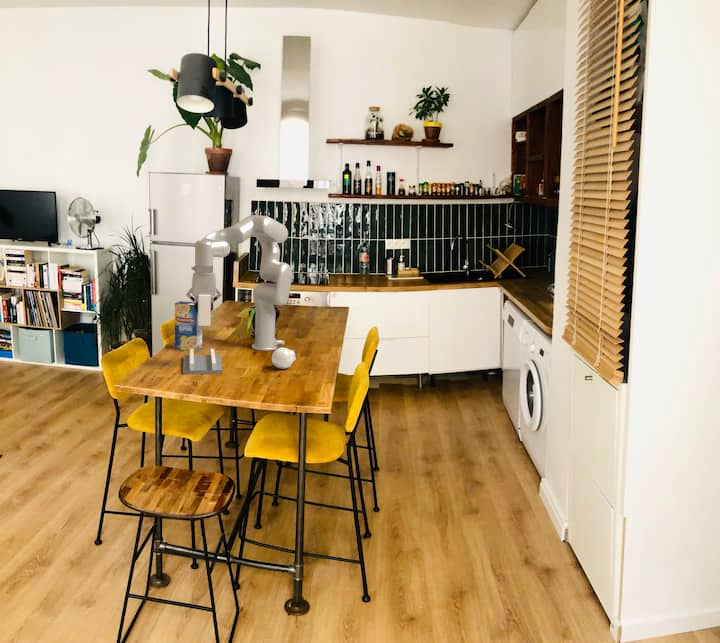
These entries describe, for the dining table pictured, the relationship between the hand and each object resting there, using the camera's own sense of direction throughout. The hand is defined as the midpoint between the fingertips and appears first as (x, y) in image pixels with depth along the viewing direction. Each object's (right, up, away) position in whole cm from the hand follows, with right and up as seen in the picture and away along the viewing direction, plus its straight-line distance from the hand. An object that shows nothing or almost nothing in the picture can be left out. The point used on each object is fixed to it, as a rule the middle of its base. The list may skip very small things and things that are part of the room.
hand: (203, 311), depth 305 cm
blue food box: (-14, -17, +32) cm, 39 cm away
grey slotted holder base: (-1, -24, +3) cm, 24 cm away
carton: (0, -5, +1) cm, 5 cm away
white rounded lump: (+34, -24, +8) cm, 42 cm away
